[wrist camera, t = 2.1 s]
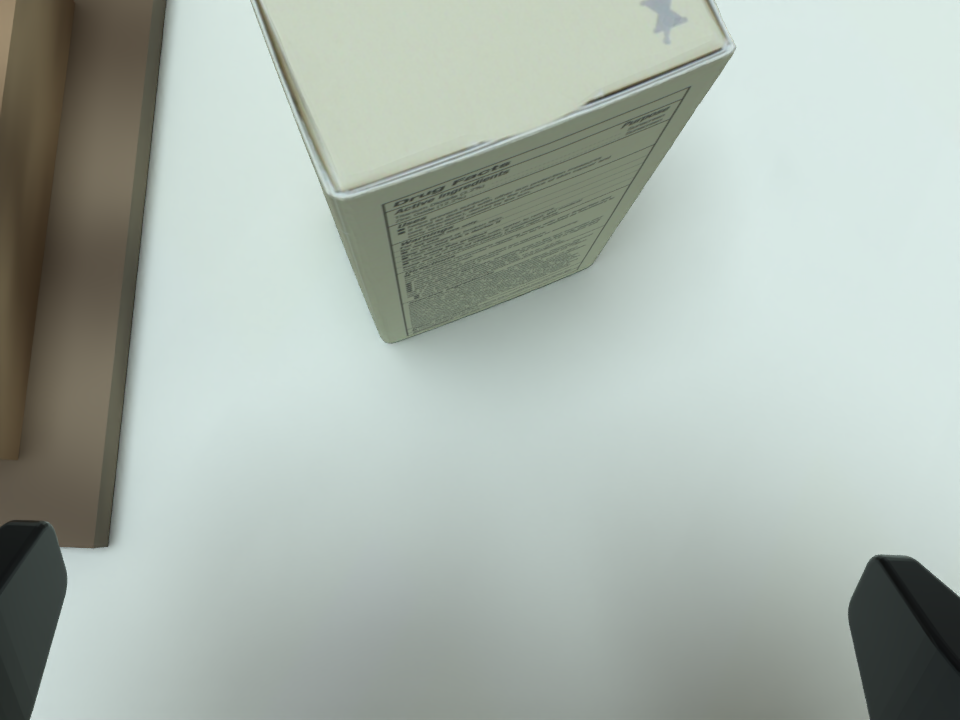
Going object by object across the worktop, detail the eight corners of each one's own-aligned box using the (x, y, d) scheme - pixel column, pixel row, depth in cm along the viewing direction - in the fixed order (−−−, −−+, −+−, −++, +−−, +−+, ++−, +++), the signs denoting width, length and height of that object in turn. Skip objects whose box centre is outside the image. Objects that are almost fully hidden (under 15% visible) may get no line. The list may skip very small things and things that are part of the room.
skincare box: (533, 128, 25) (629, -220, 13) (597, 274, 25) (757, 46, 13) (319, 208, 24) (213, -85, 12) (379, 359, 24) (330, 204, 12)
